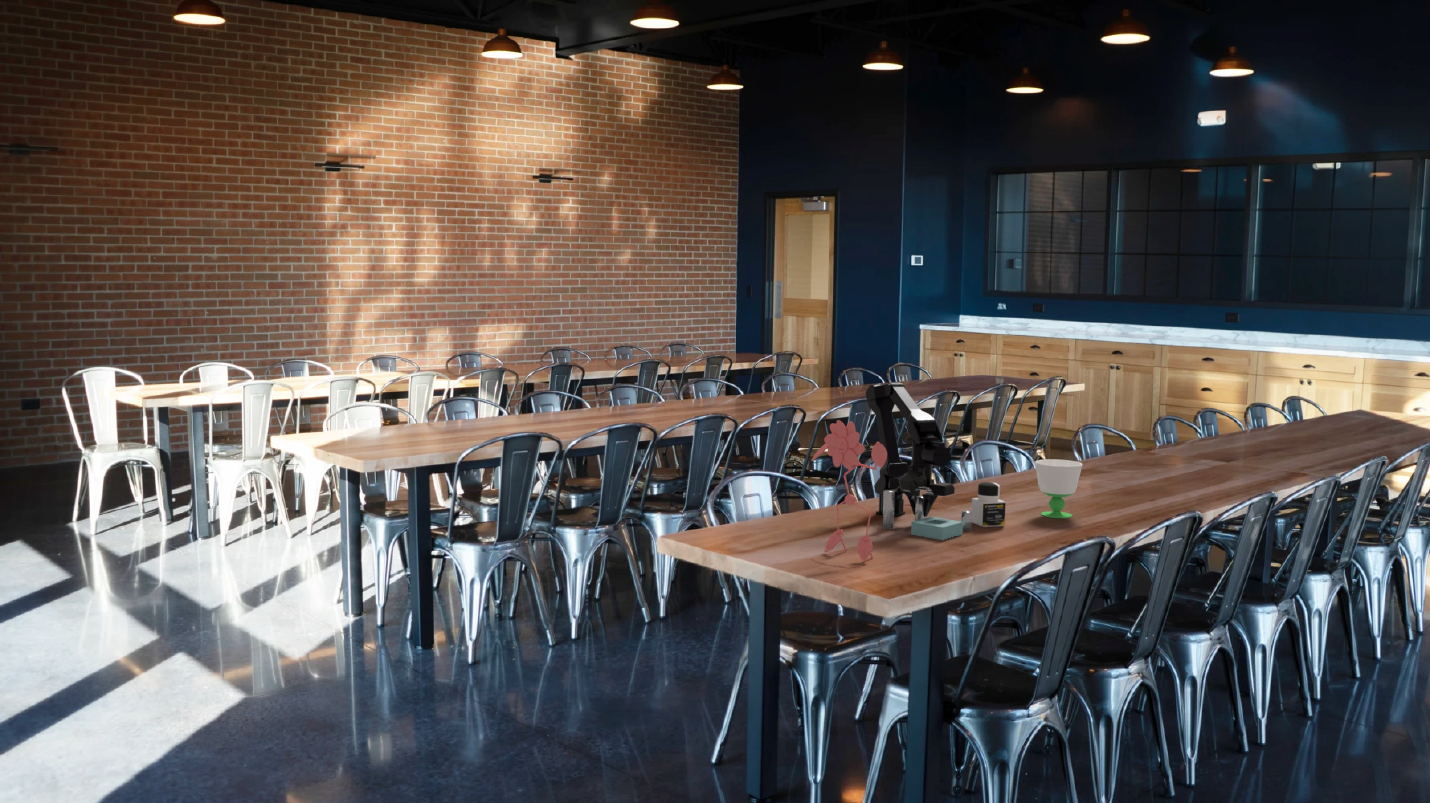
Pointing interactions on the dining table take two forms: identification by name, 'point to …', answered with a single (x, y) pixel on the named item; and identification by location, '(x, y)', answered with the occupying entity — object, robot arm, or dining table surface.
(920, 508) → the pin medium
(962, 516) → the pin short
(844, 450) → the figurine
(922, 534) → the socket block
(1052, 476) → the cup
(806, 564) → the dining table surface
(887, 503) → the pin long
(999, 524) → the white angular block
